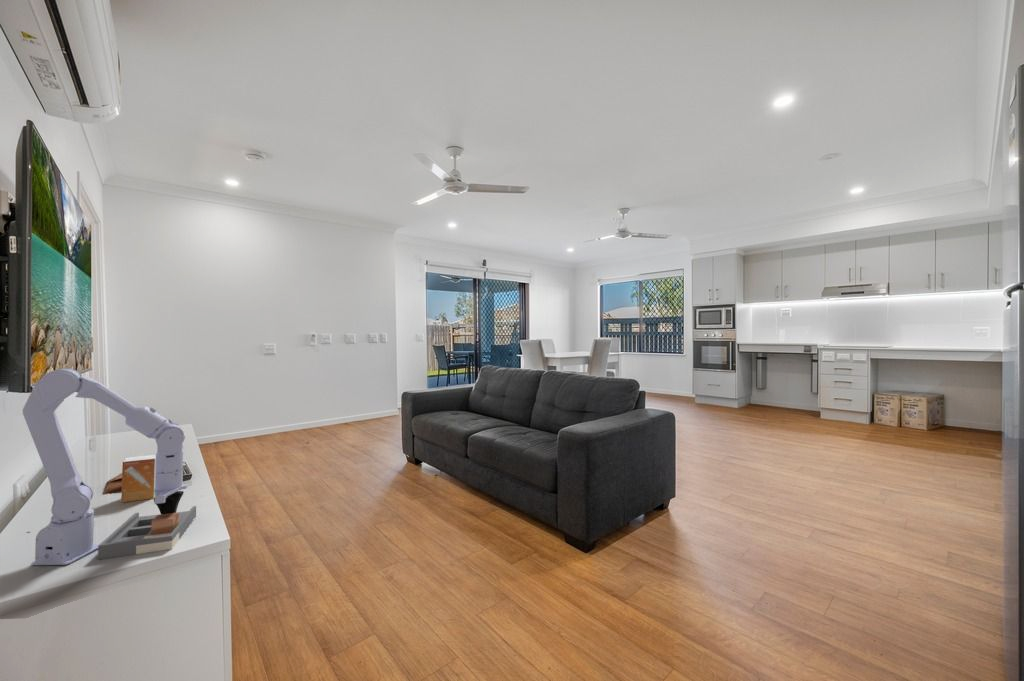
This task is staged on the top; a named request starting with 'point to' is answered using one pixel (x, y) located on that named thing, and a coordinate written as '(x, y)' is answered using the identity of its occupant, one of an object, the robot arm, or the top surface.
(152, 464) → the small box
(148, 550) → the grey divided tray
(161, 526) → the block
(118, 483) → the sunglasses case
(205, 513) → the top surface
